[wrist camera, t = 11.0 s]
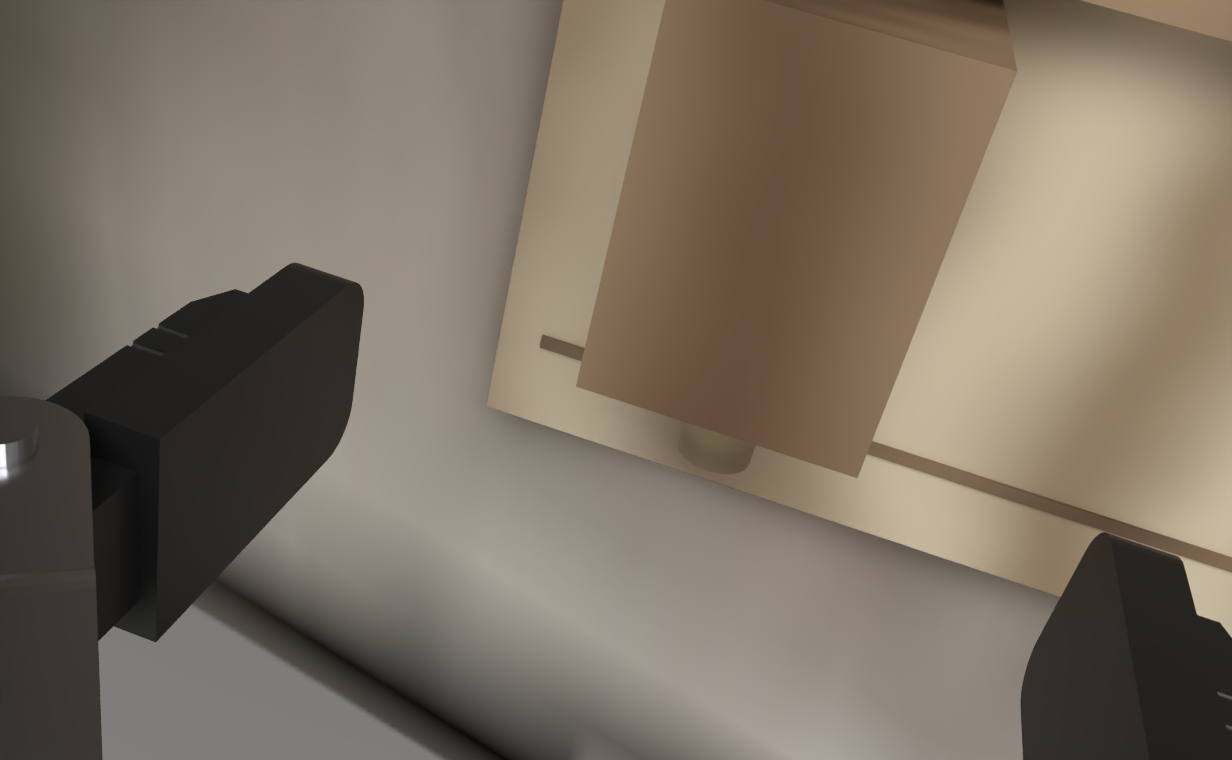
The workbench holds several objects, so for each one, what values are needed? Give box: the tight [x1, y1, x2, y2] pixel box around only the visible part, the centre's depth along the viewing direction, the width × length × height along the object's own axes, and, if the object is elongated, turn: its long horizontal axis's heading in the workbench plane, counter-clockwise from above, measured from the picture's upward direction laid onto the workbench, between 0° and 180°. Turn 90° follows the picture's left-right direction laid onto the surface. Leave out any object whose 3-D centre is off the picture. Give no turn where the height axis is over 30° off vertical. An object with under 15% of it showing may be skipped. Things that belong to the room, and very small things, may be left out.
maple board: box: [486, 0, 1232, 637], centre depth 23 cm, size 28×14×4 cm, turn 77°
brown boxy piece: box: [576, 0, 1017, 478], centre depth 22 cm, size 5×10×6 cm, turn 167°
